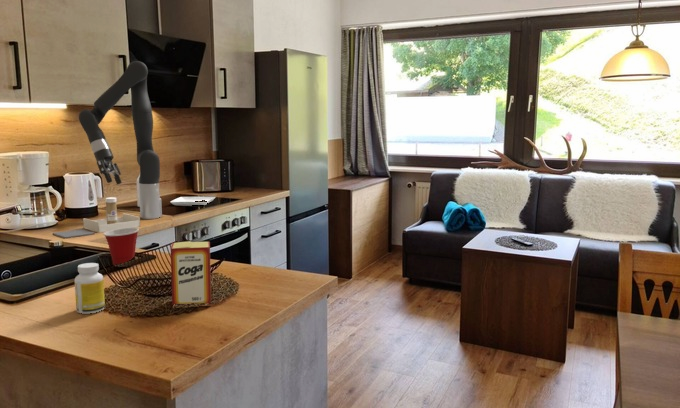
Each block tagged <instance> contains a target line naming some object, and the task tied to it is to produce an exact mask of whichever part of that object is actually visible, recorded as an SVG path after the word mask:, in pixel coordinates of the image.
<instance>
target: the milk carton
mask: <svg viewBox="0 0 680 408" xmlns="http://www.w3.org/2000/svg"><path fill="white" fill-rule="evenodd" d="M139 177H140V174H139V175H138V177H137V178H136V197H137V200H136V202H137V203H136V204H137V205H136V206H137V207H139V208H140V191H139Z"/></svg>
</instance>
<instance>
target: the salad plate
mask: <svg viewBox="0 0 680 408" xmlns="http://www.w3.org/2000/svg"><path fill="white" fill-rule="evenodd" d="M214 199H216V196H180V197H177V198H175V199H173V200H171V201H169V202H170V203H171V204H172V205H174V206H178V207H179V206H180V207H193V206H192V205H204V206H206V205H208V204H209V203H210V202H213V201H214ZM202 200H205V201H207V202H195V201H202ZM207 203H208V204H207Z"/></svg>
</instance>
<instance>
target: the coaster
mask: <svg viewBox="0 0 680 408" xmlns="http://www.w3.org/2000/svg"><path fill="white" fill-rule="evenodd" d="M52 235H54V236H56V237H59V238H62V237H63V239H65V238H66V239H72V238H71V237H73V238H79V237H85V236H86V237H87V236H92V235H96V232H94V231H91V230H88V229H84V228H82V229H81V228H80V229H79V228H78V229H71V230H65V231H58V232H52Z"/></svg>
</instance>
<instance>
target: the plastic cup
mask: <svg viewBox="0 0 680 408" xmlns="http://www.w3.org/2000/svg"><path fill="white" fill-rule="evenodd" d="M139 230H140V229H139V227H135V228H124V229H116V230H111V231H107V232H103V233H102V234H103V235H102V236H104V237H105V239H106V242H107V245H108V249H109V252H110V256H111V259H112V264H113V266H114V265H116V264H120V263H124V262H127V261H129V260H131V259H132V258H133V257H134V258H135V256H136V249H137V248H136V246H137V239H138V233H139Z"/></svg>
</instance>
